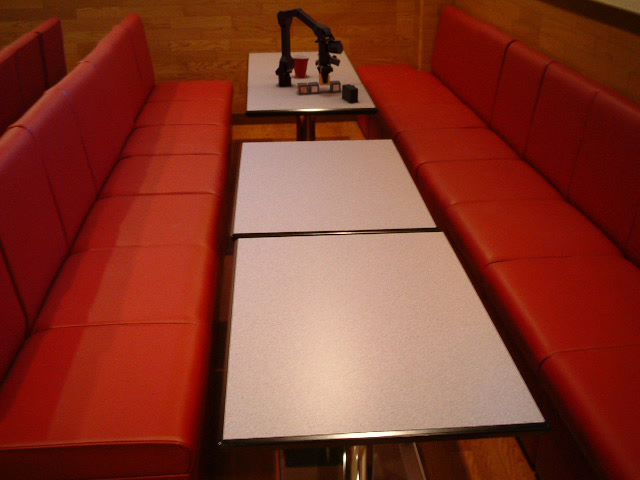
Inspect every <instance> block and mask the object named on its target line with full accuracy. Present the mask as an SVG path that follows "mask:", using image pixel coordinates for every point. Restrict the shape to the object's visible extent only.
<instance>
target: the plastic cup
mask: <svg viewBox="0 0 640 480" xmlns="http://www.w3.org/2000/svg"><path fill="white" fill-rule="evenodd" d="M291 56H292V58H295V66H294V69H293V71H294V76H295V78H296V79H303V78H304V79H305V78H306V76H307V70H308V63H309V59H310V56H309V55H304V54H291Z"/></svg>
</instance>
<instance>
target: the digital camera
mask: <svg viewBox="0 0 640 480" xmlns="http://www.w3.org/2000/svg"><path fill="white" fill-rule="evenodd" d="M341 99H342V100H344V101H346V102H348V103H349V104H355V103H356V104H357V103H359V88H358V87H356V86H355V85H354V84H351V83H347V84H341Z"/></svg>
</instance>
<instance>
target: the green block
mask: <svg viewBox="0 0 640 480" xmlns="http://www.w3.org/2000/svg"><path fill="white" fill-rule="evenodd" d="M329 91H330V93H332V94H333V93H342V83H341V81H340V80H338V79H337V80H330V85H329Z"/></svg>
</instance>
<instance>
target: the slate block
mask: <svg viewBox="0 0 640 480" xmlns="http://www.w3.org/2000/svg"><path fill="white" fill-rule="evenodd" d="M307 84H308V94H309V95H319V94H320V84H319V81H309V82H307Z"/></svg>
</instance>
